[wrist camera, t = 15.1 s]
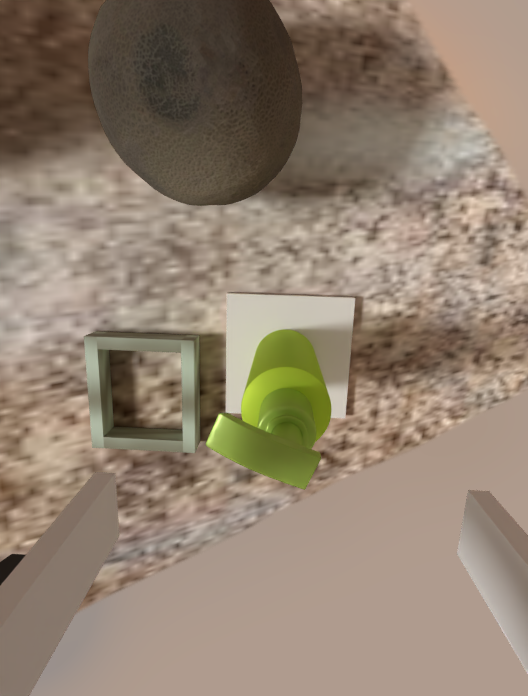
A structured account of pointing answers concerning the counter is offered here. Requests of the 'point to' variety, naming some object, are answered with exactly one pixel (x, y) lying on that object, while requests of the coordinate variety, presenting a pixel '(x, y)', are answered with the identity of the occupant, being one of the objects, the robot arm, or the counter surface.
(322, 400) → the soap dispenser
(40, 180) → the counter surface
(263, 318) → the mat
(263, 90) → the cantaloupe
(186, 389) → the frame
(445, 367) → the counter surface
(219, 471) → the counter surface
